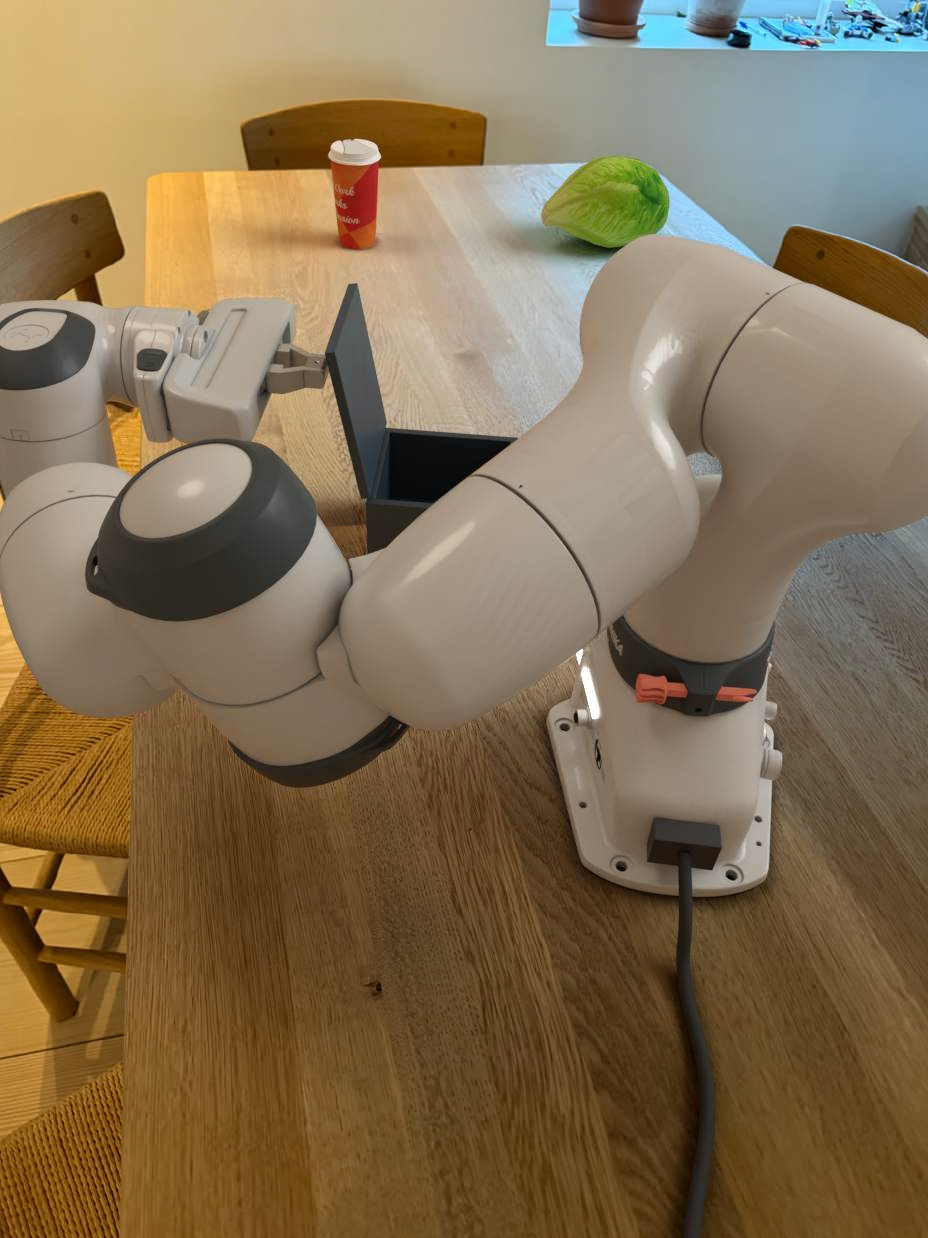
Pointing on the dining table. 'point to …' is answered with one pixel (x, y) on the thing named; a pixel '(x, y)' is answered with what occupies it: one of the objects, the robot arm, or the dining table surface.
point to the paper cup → (355, 191)
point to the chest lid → (357, 389)
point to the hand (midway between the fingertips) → (327, 371)
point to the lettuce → (609, 202)
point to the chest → (420, 476)
